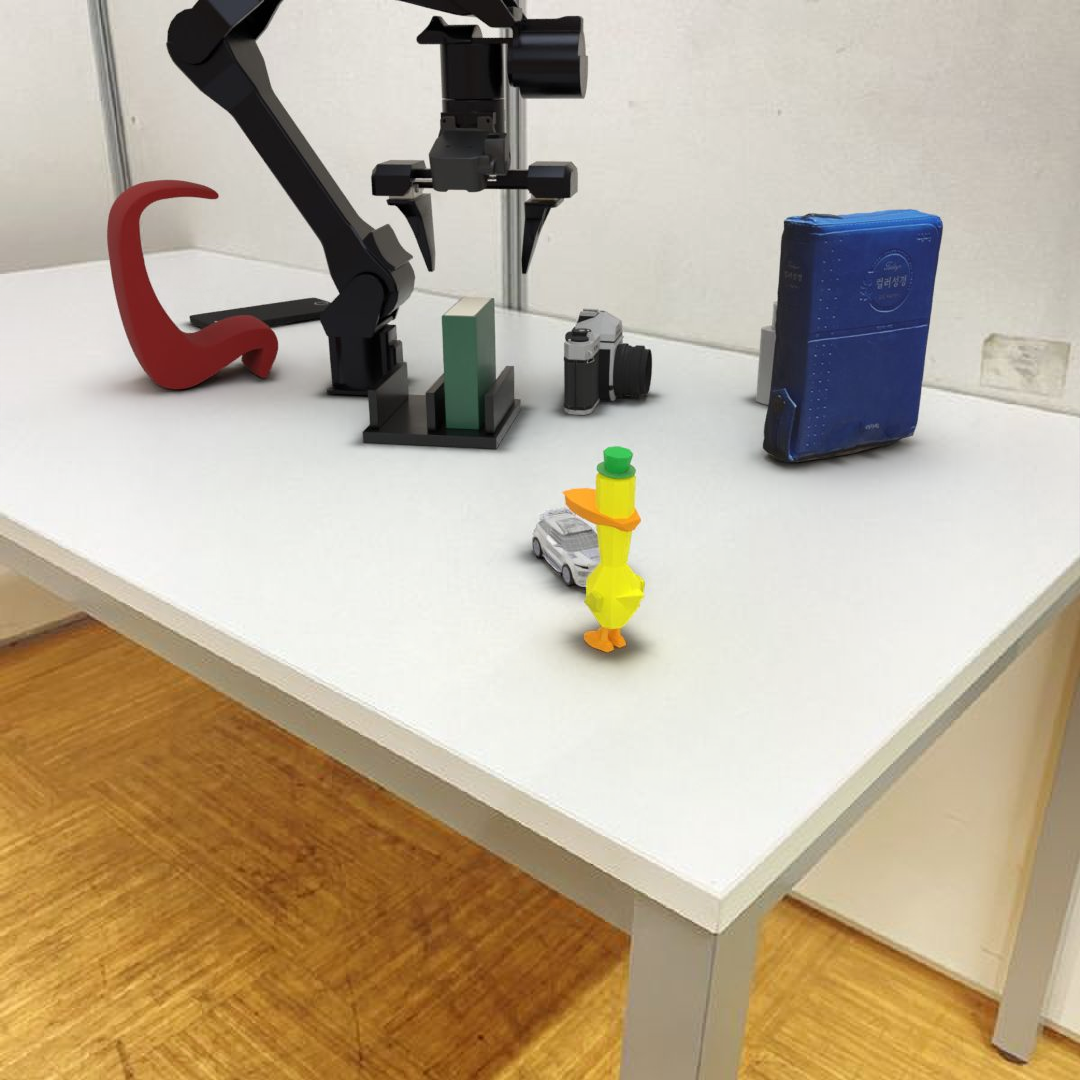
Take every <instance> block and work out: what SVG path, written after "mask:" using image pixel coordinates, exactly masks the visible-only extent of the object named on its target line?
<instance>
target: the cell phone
mask: <svg viewBox="0 0 1080 1080" xmlns="http://www.w3.org/2000/svg"><path fill="white" fill-rule="evenodd" d="M331 302H332V301H331ZM331 302H330V301H329V300H324V299H321V298H319V297H306V298H298V299H292V300H286V301H278V302H270V303H264V304H258V305H251V306H244V307H236V308H231V309H223V310H217V311H216V310H215V311H210V312H203V313H196V314H191V315H189V323H190V324H192V325H194V326H197V327H199V328H201V329H203V328H205V327H207V326H209V325H211V324H213V323H215V322H218V321H220V320H223V319H225V318H229V317H233V316H239V315H250V316H254V317H256V318H258V319H259V320H261V321H262V322H264V323H265V324H267V325H268V326H269V327H270V326H277V325H283V324H290V323H297V322H302V321H308V320H315V319H319V316H320V314H321V313H322V312H323V311H324V310H325V309H326V308H327V307H328V306H329V305H330V303H331Z"/></svg>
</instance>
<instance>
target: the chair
mask: <svg viewBox="0 0 1080 1080" xmlns="http://www.w3.org/2000/svg"><path fill="white" fill-rule="evenodd" d="M219 197H220V195H219V193H218V191H216V190H214V189H213V188H211V187H209V186H208V185H207V186H206V185H204V184H200V183H196V182H191V181H187V180H178V179H158V180H149V181H143V182H140V183H136V184H134V185H132V186H130V187H128V188H127V189H125V190H124V191H123V192H121V193H120V194H119V195H118V196H117V198H116V199H115V200H114V202H113V203H112V205H111V207H110V210H109V212H108V218H107V227H106V242H107V253H108V258H109V267H110V273H111V279H112V285H113V290H114V296H115V300H116V304H117V308H118V313H119V316H120V320H121V322H122V326H123V329H124V330H123V331H124V333H125V335H126V338H127V340H128V341H127V342H128V343H129V345H130V348H131V350H132V352H133V354H134V356H135V358H136V360H137V362H138V363H139V365H140V367H141V369H142V370H143V371H144V373H145V374H146V376H148V377H149V379H150V380H151V381H152V382H154V383H155V384H156V385H158V386H160V387H162V388H165V389H170V390H183V389H189V388H192V387H194V386H197V385H199V384H201V383H202V382H204V381H206V380H208V379H209V378H211V377H212V376H214V375H216V374H217V373H219V372H220V371H222V370H224V369H225V368H226V367H228V366H230V365H231V364H232V363H234V362H235V361H236V360H238V359H239V358H240V357H241V358H240V359H241V360H240V361H241V363H242V364H243V365H244V366H245V367H246V368H247V369H248V370H249V371H250V372H252V374H254V375H256V376H257V377H259V378H263V379H265V378H267V377H268V375H269V373H270V371H271V370H272V367H273V365H274V363H275V361H276V358H277V355H278V351H279V340H278V337H277V335H276V333H275V331H274V330H273V329H272V328H271V327H270V326H268V325H267V324H265V323H264V322H262V321H261V320H259V319H258V318H256V317H254V316H250V315H239V316H233V317H229V318H225V319H223V320H220V321H218V322H215V323H213V324H211V325H209V326H207V327H205V328H201V329H199V330H197V331H195V332H185V331H182V330H181V329H180V328H179V327H178V326H177V324H176V323H175V322H174V321H173V320H172V318H171V317H170V316H169V314H168V313H167V311H166V310H165V309H164V306H163V305H162V304H161V302H160V300H159V299H158V297H157V294H156V292H155V290H154V288H153V286H152V282H151V280H150V277H149V274H148V271H147V268H146V267H147V266H146V262H145V256H144V253H143V247H142V246H143V245H142V239H141V226H140V224H141V223H140V219H141V216H142V214H143V212H144V210H145V209H147V207H149V206H150V205H152V204H153V203H155V202H158V201H161V200H169V199H177V198H198V199H206V200H217V199H219Z"/></svg>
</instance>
